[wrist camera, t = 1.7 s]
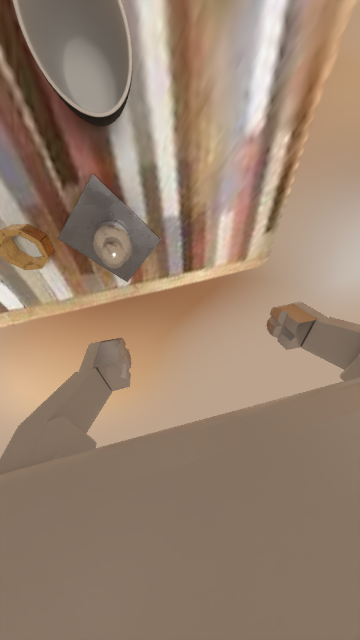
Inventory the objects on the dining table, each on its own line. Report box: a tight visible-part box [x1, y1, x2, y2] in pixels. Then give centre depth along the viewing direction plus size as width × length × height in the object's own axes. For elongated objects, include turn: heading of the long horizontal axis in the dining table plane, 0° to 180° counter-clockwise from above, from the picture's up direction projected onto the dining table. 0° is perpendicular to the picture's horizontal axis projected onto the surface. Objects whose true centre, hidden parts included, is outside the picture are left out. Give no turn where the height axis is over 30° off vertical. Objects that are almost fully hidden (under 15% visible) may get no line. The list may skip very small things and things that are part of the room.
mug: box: [13, 0, 132, 126], centre depth 16 cm, size 12×9×10 cm
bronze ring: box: [0, 224, 54, 270], centre depth 28 cm, size 6×6×4 cm
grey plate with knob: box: [58, 174, 161, 282], centre depth 28 cm, size 14×12×13 cm
